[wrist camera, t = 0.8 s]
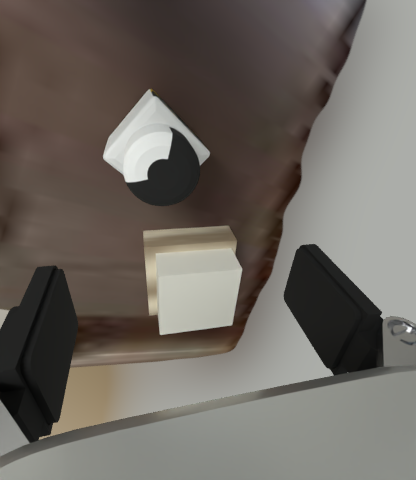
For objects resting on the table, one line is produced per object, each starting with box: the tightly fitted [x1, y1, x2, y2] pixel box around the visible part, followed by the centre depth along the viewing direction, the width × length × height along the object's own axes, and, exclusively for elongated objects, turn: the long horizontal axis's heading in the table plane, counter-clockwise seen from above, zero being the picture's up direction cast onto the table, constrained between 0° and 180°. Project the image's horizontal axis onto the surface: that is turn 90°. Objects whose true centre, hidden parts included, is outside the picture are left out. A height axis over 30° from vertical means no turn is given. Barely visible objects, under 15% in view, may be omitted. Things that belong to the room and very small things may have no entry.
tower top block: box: [156, 248, 242, 335], centre depth 37 cm, size 10×10×4 cm
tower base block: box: [143, 226, 237, 315], centre depth 40 cm, size 12×12×4 cm
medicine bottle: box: [103, 89, 210, 206], centre depth 26 cm, size 7×7×12 cm
